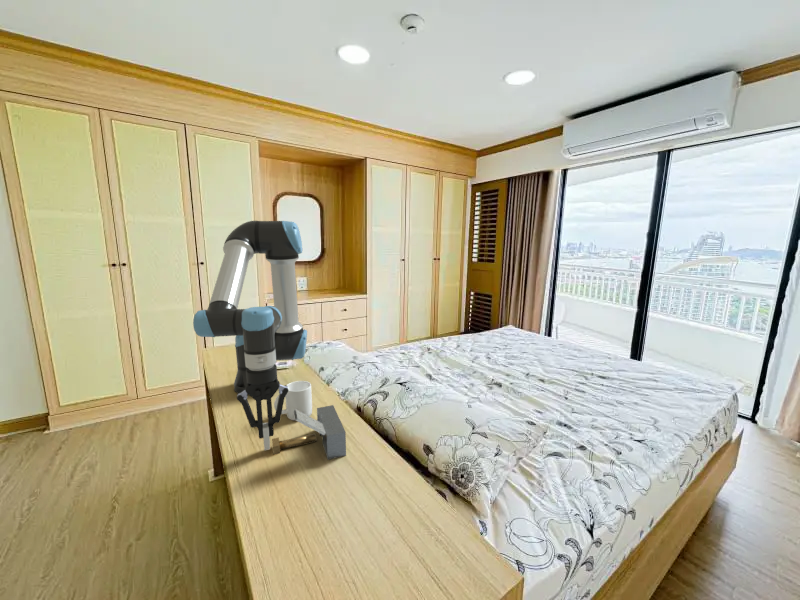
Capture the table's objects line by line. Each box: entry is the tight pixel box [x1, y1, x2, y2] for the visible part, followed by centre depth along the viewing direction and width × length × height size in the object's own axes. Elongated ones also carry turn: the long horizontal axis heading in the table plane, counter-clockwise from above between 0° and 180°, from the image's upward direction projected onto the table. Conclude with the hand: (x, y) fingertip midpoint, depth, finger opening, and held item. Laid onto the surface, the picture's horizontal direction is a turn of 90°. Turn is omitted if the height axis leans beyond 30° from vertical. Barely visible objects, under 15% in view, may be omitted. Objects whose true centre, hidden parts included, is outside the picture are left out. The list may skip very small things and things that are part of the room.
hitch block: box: [316, 404, 347, 461], centre depth 96 cm, size 16×5×7 cm, turn 23°
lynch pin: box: [271, 433, 317, 455], centre depth 95 cm, size 12×4×2 cm, turn 113°
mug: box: [273, 380, 313, 421], centre depth 110 cm, size 12×8×10 cm
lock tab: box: [294, 409, 326, 435], centre depth 88 cm, size 5×9×1 cm
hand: (267, 446), depth 92 cm, fingers closed
